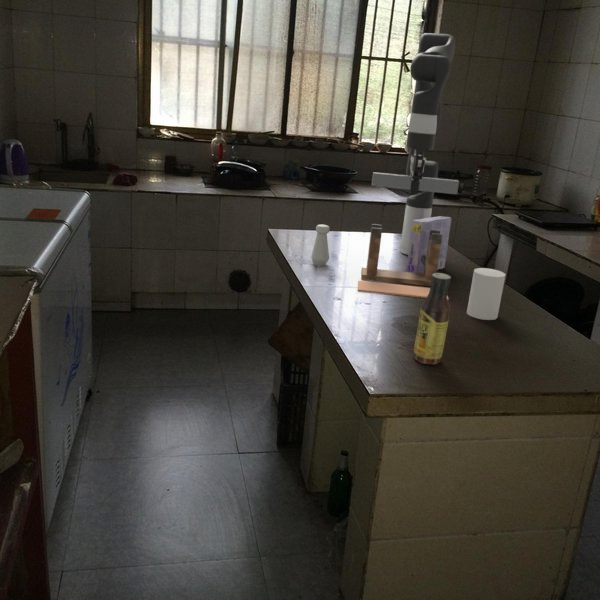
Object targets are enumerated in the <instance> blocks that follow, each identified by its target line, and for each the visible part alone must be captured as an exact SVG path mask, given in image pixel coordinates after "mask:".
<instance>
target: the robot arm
mask: <svg viewBox="0 0 600 600" xmlns="http://www.w3.org/2000/svg"><path fill="white" fill-rule="evenodd" d="M417 51H418V52H417V54H416V55H415V56H414V57H413V59H412V61H411V64H410V67H409V68H410V72H409V73H410V76H411V78H412V79H413V80H414V81H415V82H416V87H415V92H414V95H413V98H412V100H413V102H412V107H411V108H412V109H411V114H410V118H409V123H408V130H407V138H406V144H405V145H406V148H408V149H409V150H408V151H409V152H408V156H407V163H406V164H407V165H406V169H405V171H406V172H405V175H408V176H412V178H411V179H412V182H411V190H408V192H409V193H410V196H407V199H406V202H405V210H404V219H403V224H402V232H401V239H400V240H401V241H400V247H399V249H400V250H399V252H400V253H401V254H404V255H406V256H407V255H408V253H409V245H410V236H411V228H412V220H419V219H424V218H431V217H432V211H433V210H432V209H433V204H434V198H435V197H434V195H435V192H427V191H421V192H420V191H419V184H420V181H421V179H422V177H429V178H438V175H439V163H438V162H437V161H434V160H427V157H426V155H425V151H433V150H434V147H435V139H436V133H437V131H438V129H439V128H440V126H441V121H442V120H441V118H442V111H443V105H442V102H441V95H442V92H443V90H444V87H445V85H446V82H447V80H448V77H449V75H450V73H451V68H452V62H453V60H454V57H455V51H456V40H455V37H454V36H453V35H451V34H447V33H431V32H424V33H423V34H421V36H420V39H419V42H418V49H417ZM433 84H434V85H433Z"/></svg>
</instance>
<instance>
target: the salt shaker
mask: <svg viewBox="0 0 600 600" xmlns="http://www.w3.org/2000/svg"><path fill="white" fill-rule="evenodd" d="M330 230H331V229H330V226H329V225H327V224H317V225H316V227H315V232H316V237H315V240H314V245H313V248H312V252H311V256H310V257H311V261H312V264H313V265H314V266H318V267H324V266H325V267H326V265H327V263H328V262H329V259H330V253H329V243H328V242H329V241H328V234H329V233H330Z"/></svg>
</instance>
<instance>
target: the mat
mask: <svg viewBox="0 0 600 600" xmlns="http://www.w3.org/2000/svg"><path fill="white" fill-rule="evenodd" d="M357 291H358V292H361V291H364V292H365V293H371V292H373V293H374V294H380V295H381V294H384V295H392V296H403V297H412V298H420V297H421V299H426V298H427V296H428V294H429V291H430V287H427V286H426V287H424V286H417V285H407V284H405V285H404V284H398V283H396V284H395V283H388V282H378V281H368V280H366V281H365V280H357ZM364 292H363V293H364ZM373 293H372V294H373ZM447 300H448V301H449V300H450V298H449V296H448V295H447Z"/></svg>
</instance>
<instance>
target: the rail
mask: <svg viewBox="0 0 600 600" xmlns="http://www.w3.org/2000/svg"><path fill="white" fill-rule="evenodd" d="M411 178H412V176H408V175H406V174H398V173H397V174H396V173H386V172H374V171H373V172H372V179H371V186H372V187H379V188H388V189H389V188H390V189H399V190H408V191H409V190H411V182H412V179H411ZM459 184H460V181H459V180H458V179H448V178H439V177H437V178H429V177H422V179H421V181H420V184H419V191H418V192H424V191H427V192H434V193H438V194H439V193H440V194H449V195H458V191H459Z"/></svg>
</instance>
